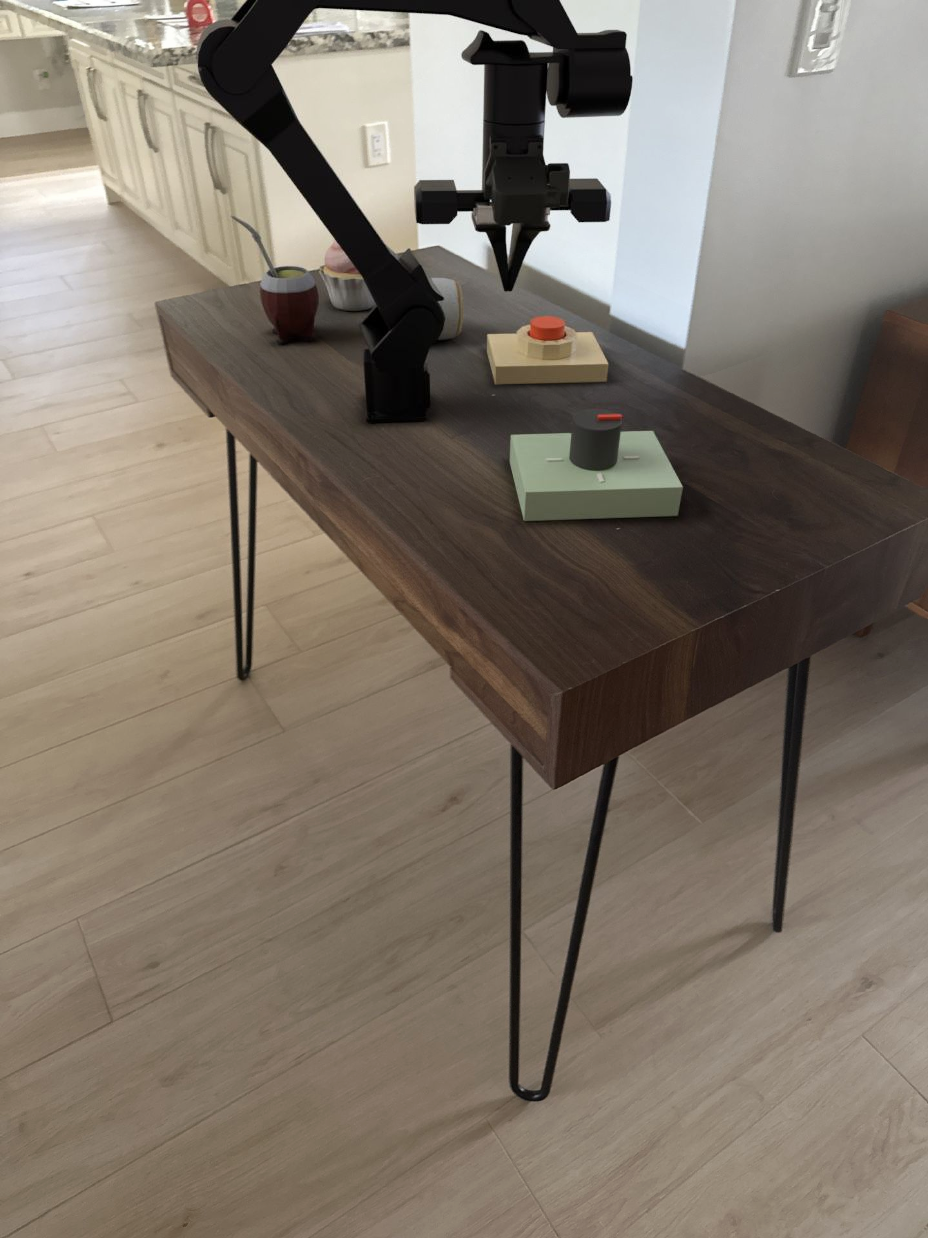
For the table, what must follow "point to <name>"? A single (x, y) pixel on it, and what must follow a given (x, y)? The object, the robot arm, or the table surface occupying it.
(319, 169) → the robot arm
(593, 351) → the beige button base
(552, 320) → the power button
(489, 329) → the table surface
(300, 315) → the mate gourd
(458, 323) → the ceramic mug
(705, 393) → the table surface
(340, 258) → the cupcake
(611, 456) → the timer knob
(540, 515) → the panel
